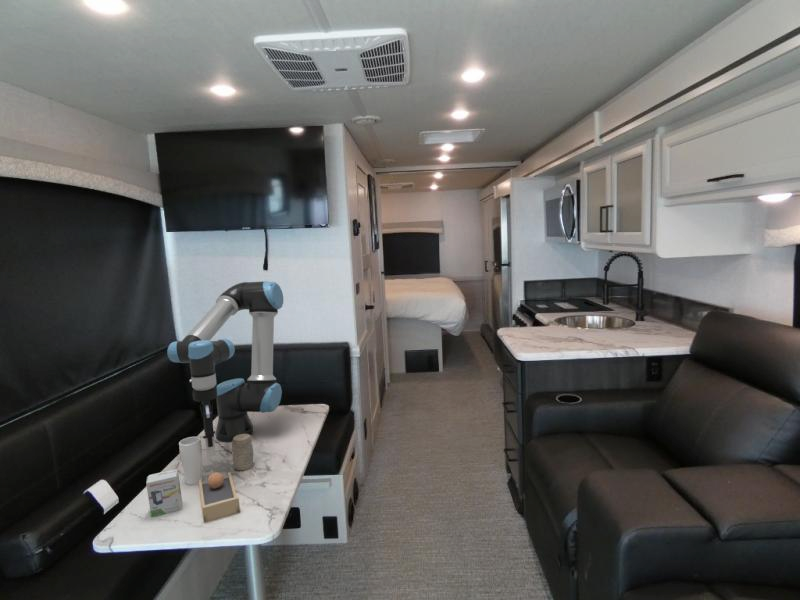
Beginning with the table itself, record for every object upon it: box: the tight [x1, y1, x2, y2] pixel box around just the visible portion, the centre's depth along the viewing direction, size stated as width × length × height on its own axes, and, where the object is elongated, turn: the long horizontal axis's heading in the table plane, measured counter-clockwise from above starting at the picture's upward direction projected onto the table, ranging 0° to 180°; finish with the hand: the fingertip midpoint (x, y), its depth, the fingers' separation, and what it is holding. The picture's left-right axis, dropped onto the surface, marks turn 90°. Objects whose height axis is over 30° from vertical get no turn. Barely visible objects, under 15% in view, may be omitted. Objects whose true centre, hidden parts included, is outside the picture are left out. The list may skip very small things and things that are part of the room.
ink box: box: [145, 469, 183, 518], centre depth 142 cm, size 9×5×12 cm, turn 114°
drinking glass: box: [178, 436, 204, 486], centre depth 159 cm, size 7×7×15 cm
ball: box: [207, 471, 225, 489], centre depth 154 cm, size 5×5×5 cm
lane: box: [198, 471, 241, 523], centre depth 148 cm, size 24×10×5 cm, turn 26°
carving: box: [231, 434, 255, 471], centre depth 167 cm, size 6×8×12 cm
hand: (211, 454), depth 159 cm, fingers closed
